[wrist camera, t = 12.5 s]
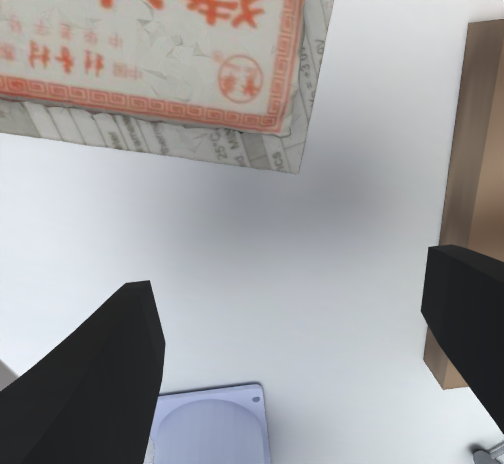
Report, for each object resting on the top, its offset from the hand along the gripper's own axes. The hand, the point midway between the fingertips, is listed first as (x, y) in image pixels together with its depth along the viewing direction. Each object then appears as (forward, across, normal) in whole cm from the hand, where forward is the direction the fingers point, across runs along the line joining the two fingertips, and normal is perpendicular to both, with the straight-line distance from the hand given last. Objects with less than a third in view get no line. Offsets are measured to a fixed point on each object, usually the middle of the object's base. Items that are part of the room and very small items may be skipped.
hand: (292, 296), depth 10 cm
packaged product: (+11, +6, -7) cm, 14 cm away
